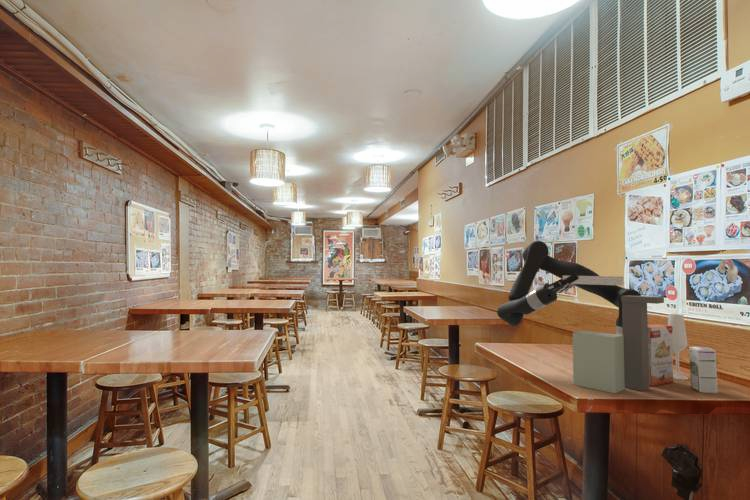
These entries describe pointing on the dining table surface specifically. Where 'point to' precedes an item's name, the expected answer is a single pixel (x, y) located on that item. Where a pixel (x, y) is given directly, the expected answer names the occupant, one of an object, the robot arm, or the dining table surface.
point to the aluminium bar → (598, 280)
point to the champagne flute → (678, 340)
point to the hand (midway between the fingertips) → (578, 276)
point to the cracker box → (660, 354)
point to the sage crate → (598, 361)
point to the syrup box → (703, 369)
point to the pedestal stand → (636, 340)
